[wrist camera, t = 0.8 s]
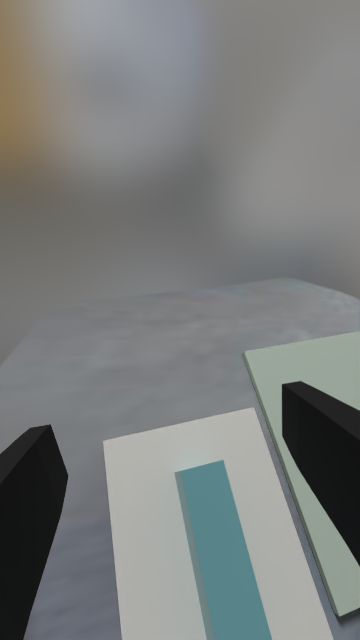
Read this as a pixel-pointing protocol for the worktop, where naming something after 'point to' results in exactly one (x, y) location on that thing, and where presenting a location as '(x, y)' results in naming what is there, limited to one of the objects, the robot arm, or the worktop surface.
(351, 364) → the mat
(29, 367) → the worktop surface
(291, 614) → the lid
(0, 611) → the robot arm
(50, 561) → the worktop surface
